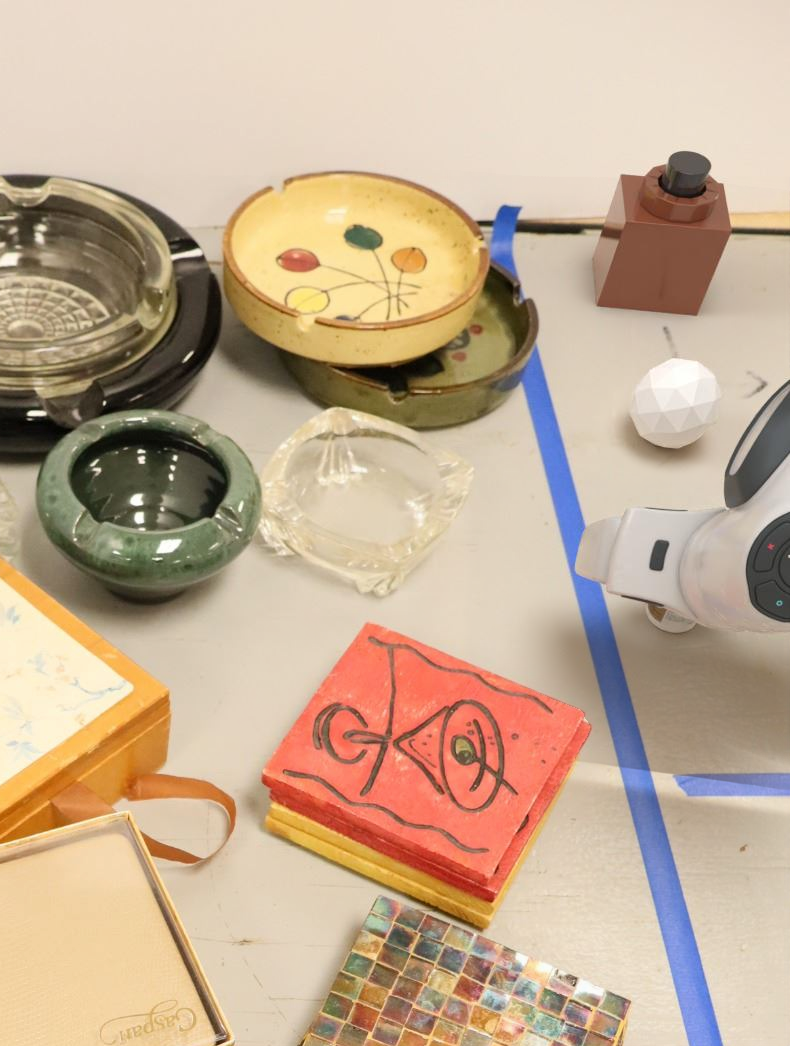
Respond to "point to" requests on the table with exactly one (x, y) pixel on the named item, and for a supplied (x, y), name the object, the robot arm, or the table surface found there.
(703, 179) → the cylinder
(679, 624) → the pill bottle
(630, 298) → the dispenser
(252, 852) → the table surface
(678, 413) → the geometric ball
